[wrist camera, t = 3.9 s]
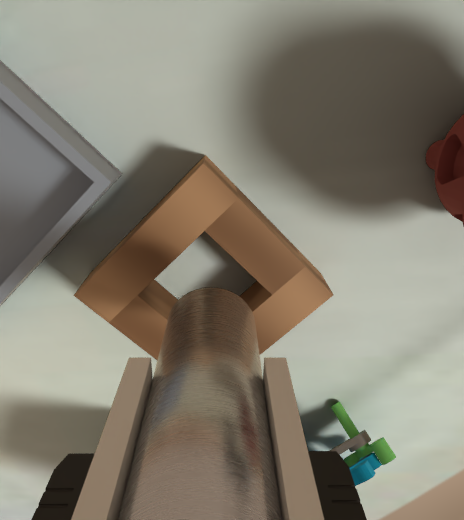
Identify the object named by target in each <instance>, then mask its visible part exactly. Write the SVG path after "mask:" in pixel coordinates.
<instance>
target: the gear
mask: <svg viewBox="0 0 464 520" xmlns="http://www.w3.org/2000/svg"><path fill="white" fill-rule="evenodd" d="M331 408H332V410H333V411H334V413H335V415H336V416H337V418H338V420H339V421H340V423H341V424H342V426H343V428H344V429H345V431H346V432H347V434H348V436H349V437H350V439H348V440H347V441H345V442H343V443H342V444H340V445H338V446H337V447H335V448H333V449H332V450H330V451H337V453H338V454H341V453H343V452H344V451H346V450H348V449H349V450H350V452H353V451H356V452H355V453H353V454H351V455H349V456H348V457H346V458H345V459H344V461H345V463H346V464H347V465H348V466H349V469H350V472H351V475H352V478H353V481H354V484H355V486H356V485H358V484H360V483H363V482H365V481H367V480H369V479H371V478H372V477H373V476H374V475H375V472H374V470H375V469H377V468H378V467H380V466H381V465H384V464H386V463H388V462H390V461H392V460H393V459H394V458H396V456H395V454H394V453H393V451H392V450H391V448H390V447H389V445H388V444H387V442H386V441H385V439H384V438H380V439H379V440H377V441H375V442H374V443H372V444H370V445H369V444H368V442H370V441H371V439H370V437H369V435H368V434H367V432H366V431H365V430H364V431H362V432H360V433H359V432H358V430H357V429H356V427H355V425H354V424H353V422H352V421H351V419H350V418H349V416H348V414H347V413H346V411H345V410H344V408H343V406H342V405H341V403H340V402H338V403H336V404H335V405H333V406H332V407H331ZM372 452H375V453H372ZM375 454H376V455H375ZM377 457H378V458H377ZM379 460H380V461H379ZM380 462H381V463H382V464H381V463H380Z"/></svg>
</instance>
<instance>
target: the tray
mask: <svg viewBox="0 0 464 520" xmlns="http://www.w3.org/2000/svg"><path fill="white" fill-rule="evenodd" d="M121 175H122V173H121V172H120V171H119V170H118V169H117V168H116V167H115V166H114V165H113V164H112V163H111V162H109V161H108V160H107V159H106V158H105V157H104V156H103V155H102V154H101V153H100V152H99V151H98V150H97V149H95V148H94V147H93V146H92V145H91V144H90V143H89V142H88V141H87V140H86V139H85V138H84V137H82V136H81V135H80V134H79V133H78V132H77V131H76V130H75V129H74V128H73V127H72V126H71V125H70V124H68V123H67V122H66V121H65V120H64V119H63V118H62V117H61V116H60V115H59V114H58V113H57V112H56V111H54V110H53V109H52V108H51V107H50V106H49V105H48V104H47V103H46V102H45V101H44V100H43V99H42V98H40V97H39V96H38V95H37V94H36V93H35V92H34V91H33V90H32V89H31V88H30V87H29V86H28V85H26V84H25V83H24V82H23V81H22V80H21V79H20V78H19V77H18V76H17V75H16V74H15V73H13V72H12V71H11V70H10V69H9V68H8V67H7V66H6V65H5V64H4V63H3V62H2V61H1V60H0V306H1V305H2V304H3V303H4V302H5V301H6V300H7V299H8V297H9V296H10V295H11V294H12V293H13V292H14V291H15V290H16V289H17V288H18V287H19V286H20V284H21V283H22V282H23V281H24V280H25V279H26V278H27V277H28V276H29V275H30V274H31V273H32V271H33V270H34V269H35V268H36V267H37V266H38V265H39V264H40V263H41V262H42V261H43V260H44V258H45V257H46V256H47V255H48V254H49V253H50V252H51V251H52V250H53V249H54V248H55V246H56V245H57V244H58V243H59V242H60V241H61V240H62V239H63V238H64V237H65V236H66V235H67V233H68V232H69V231H70V230H71V229H72V228H73V227H74V226H75V225H76V224H77V223H78V222H79V220H80V219H81V218H82V217H83V216H84V215H85V214H86V213H87V212H88V211H89V210H90V209H91V207H92V206H93V205H94V204H95V203H96V202H97V201H98V200H99V199H100V198H101V197H102V196H103V194H104V193H105V192H106V191H107V190H108V189H109V188H110V187H111V186H112V185H113V184H114V183H115V181H116V180H117V179H118V178H119V177H120V176H121Z"/></svg>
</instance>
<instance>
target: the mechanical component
mask: <svg viewBox="0 0 464 520" xmlns="http://www.w3.org/2000/svg"><path fill="white" fill-rule="evenodd" d="M426 163H427V165H428V166H429V167H430V168H431V169H433V170H435V185H436V190H437V193H438V196H439V198H440V201H441V202H442V204H443V205H444V207H445V208H446V210H447V211H448V212H449V213H450V214H451V215H452V216H454V217H455V218H457V219H459V220H460V221H462V222H463V225H464V114H463V115H462V116H461V117H460V118H459V119H458V120H457V122H456V123H455V124H454V125H453V127H452V128H451V129H450V131H449V132H448V134H447V135H446V137H445V139H444V140H439V141H437V142H435V143H433V144H432V145H431V146H430V147H429V149H428V151H427V153H426Z"/></svg>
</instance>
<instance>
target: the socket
mask: <svg viewBox="0 0 464 520" xmlns="http://www.w3.org/2000/svg"><path fill="white" fill-rule="evenodd" d="M204 231H205V232H206V233H207V234H208V235H209V236H211V237H212V238H213V239H214V240H215V241H216V242H217V243H218V244H219V245H220V246H221V247H222V248H223V249H224V250H225V251H226V252H227V253H228V254H230V255H231V256H232V257H233V258H234V259H235V260H236V261H237V262H238V263H239V264H240V265H241V266H242V267H243V268H244V269H245V270H246V271H248V272H249V273H250V274H251V275H252V276H253V277H254V278H255V279H256V280H257V281H256V282H255V283H254V284H253V285H252V286H251V287H249V288H248V289H247V290H246V291H245V292H244V293H243V294H241V295H240V296H239V297H241V298H242V299H243V300H244V301H245V302H246V303H247V304H248V306H249V307H250V309H251V311H252V313H253V316H254V320H255V326H256V333H257V341H258V348H259V355H260V354H262V353H263V352H264V351H265V350H266V349H268V348H269V347H270V346H271V345H273V344H274V343H275V342H276V341H277V340H279V339H280V338H281V337H282V336H284V335H285V334H286V333H287V332H289V331H290V330H291V329H292V328H293V327H295V326H296V325H297V324H298V323H300V322H301V321H302V320H303V319H305V318H306V317H307V316H308V315H309V314H311V313H312V312H313V311H314V310H316V309H317V308H318V307H319V306H320V305H322V304H323V303H324V302H325V301H327V300H328V299H329V298H330V297H332V296H333V293H332V291H331V290H330V288H329V286H328V285H327V283H326V281H325V280H324V278H323V276H322V275H321V273H320V272H319V271H318V270H317V269H316V268H315V267H314V266H313V265H312V264H311V263H310V262H309V261H308V260H307V259H306V258H305V257H304V256H303V254H302V253H301V252H300V251H299V250H298V249H297V248H296V247H295V246H294V245H293V244H292V243H291V242H290V241H289V240H288V239H287V238H286V237H285V236H284V235H283V234H282V233H281V232H280V231H279V230H278V229H277V228H276V227H275V226H274V225H273V224H272V223H271V222H270V221H269V220H268V219H267V218H266V217H265V216H264V214H263V213H262V212H261V211H260V210H259V209H258V208H257V207H256V206H255V205H254V204H253V203H252V202H251V201H250V200H249V199H248V198H247V197H246V196H245V195H244V194H243V193H242V192H241V191H240V190H239V189H238V188H237V187H236V186H235V185H234V184H233V183H232V182H231V181H230V180H229V179H228V178H227V177H226V176H225V175H224V173H223V172H222V171H221V170H220V169H219V168H218V167H217V166H216V165H215V164H214V163H213V162H212V161H211V160H210V159H209V158H208V157H207V156H206V155H205V156H204V157H203V158H202V159H201V160H200V161H199V162H198V163H197V164H196V165H195V166H194V167H193V168H192V169H191V170H190V171H189V172H188V173H187V174H186V175H185V176H184V177H183V179H182V180H181V181H180V182H179V183H178V184H177V185H176V186H175V187H174V188H173V189H172V190H171V191H170V192H169V193H168V194H167V195H166V196H165V197H164V198H163V199H162V200H161V201H160V202H159V203H158V204H157V205H156V206H155V207H154V208H153V209H152V210H151V211H150V212H149V213H148V214H147V215H146V216H145V217H144V218H143V219H142V220H141V221H140V223H139V224H138V225H137V226H136V227H135V228H134V229H133V230H132V231H131V232H130V233H129V234H128V235H127V236H126V237H125V238H124V239H123V240H122V241H121V242H120V243H119V244H118V245H117V246H116V247H115V248H114V249H113V250H112V251H111V252H110V253H109V254H108V255H107V256H106V257H105V258H104V259H103V260H102V261H101V262H100V263H99V264H98V266H97V267H96V268H95V269H94V270H93V271H92V272H91V273H90V274H89V275H88V277H87V278H86V279H85V281H84V282H83V284H82V285H81V286H80V288H79V289H78V290H77V292H76V293H75V294H74V296H75V297H76V298H78V299H79V300H80V301H82V302H83V303H84V304H85V305H87V306H88V307H89V308H91V309H92V310H93V311H94V312H96V313H97V314H98V315H100V316H101V317H102V318H103V319H105V320H106V321H107V322H109V323H110V324H111V325H113V326H114V327H115V328H116V329H118V330H119V331H120V332H122V333H123V334H124V335H125V336H127V337H128V338H129V339H131V340H132V341H133V342H134V343H136V344H137V345H138V346H140V347H141V348H142V349H143V350H145V351H146V352H147V353H149V354H150V355H151V356H152V357H154V358H155V359H156V360H158V356H159V352H160V348H161V344H162V340H163V336H164V332H165V328H166V324H167V320H168V316H169V313H170V311H171V309H172V307H173V306H174V304H175V303H176V302H177V301H178V299H176V298H175V297H174V296H173V295H172V294H171V293H169V292H168V291H167V290H166V289H165V288H164V287H162V286H161V285H160V284H159V283H158V282H157V281H155V280H154V279H155V278H156V277H157V276H158V275H159V274H160V273H161V272H162V271H163V270H164V269H165V268H166V267H167V266H168V265H169V264H170V263H171V262H173V261H174V260H175V259H176V258H177V257H178V256H179V255H180V254H181V253H182V252H183V251H184V250H185V249H186V248H187V247H188V246H189V245H190V244H191V243H192V242H193V241H194V240H195V239H196V238H198V237H199V236H200V235H201V234H202V233H203V232H204Z"/></svg>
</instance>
